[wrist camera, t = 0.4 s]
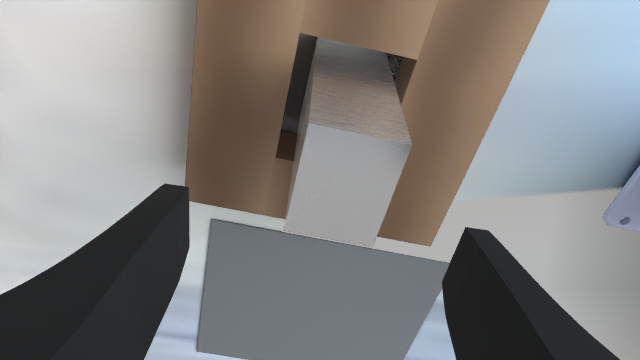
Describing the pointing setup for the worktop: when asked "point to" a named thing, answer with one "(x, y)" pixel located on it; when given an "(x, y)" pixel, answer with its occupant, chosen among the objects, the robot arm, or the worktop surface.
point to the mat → (310, 297)
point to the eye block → (411, 82)
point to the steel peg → (346, 145)
